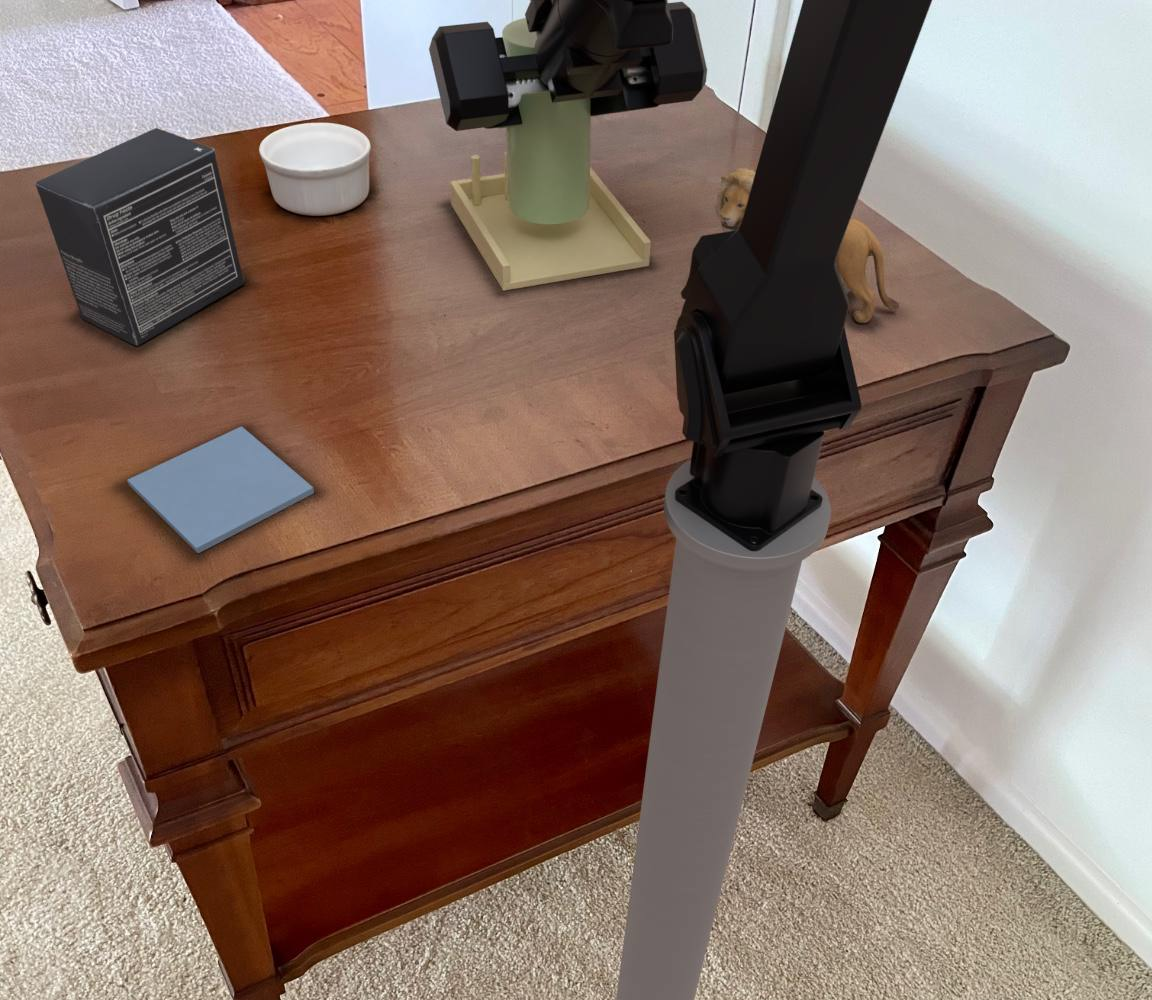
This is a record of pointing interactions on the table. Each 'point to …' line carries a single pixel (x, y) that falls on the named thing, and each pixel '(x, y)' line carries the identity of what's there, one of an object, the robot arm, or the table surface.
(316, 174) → the ramekin
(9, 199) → the table surface
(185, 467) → the mat
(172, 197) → the small box
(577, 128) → the pale green cylinder
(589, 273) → the dish rack
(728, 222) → the lion figurine
